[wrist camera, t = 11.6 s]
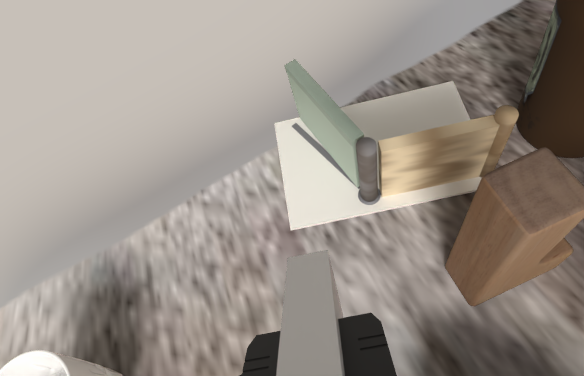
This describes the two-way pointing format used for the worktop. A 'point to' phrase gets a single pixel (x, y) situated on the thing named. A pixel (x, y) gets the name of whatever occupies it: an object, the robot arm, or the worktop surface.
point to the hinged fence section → (325, 120)
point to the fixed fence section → (434, 155)
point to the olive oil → (557, 86)
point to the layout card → (377, 125)
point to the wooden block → (516, 226)
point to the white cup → (52, 366)
